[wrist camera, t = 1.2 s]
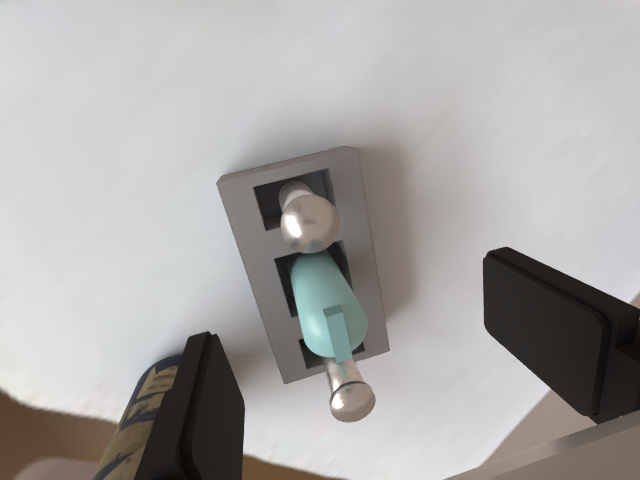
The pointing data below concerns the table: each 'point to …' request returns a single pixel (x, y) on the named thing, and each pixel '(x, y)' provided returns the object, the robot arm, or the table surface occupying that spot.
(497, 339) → the robot arm
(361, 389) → the plunger
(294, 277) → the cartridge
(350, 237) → the housing
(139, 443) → the canister
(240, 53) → the table surface
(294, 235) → the plunger
